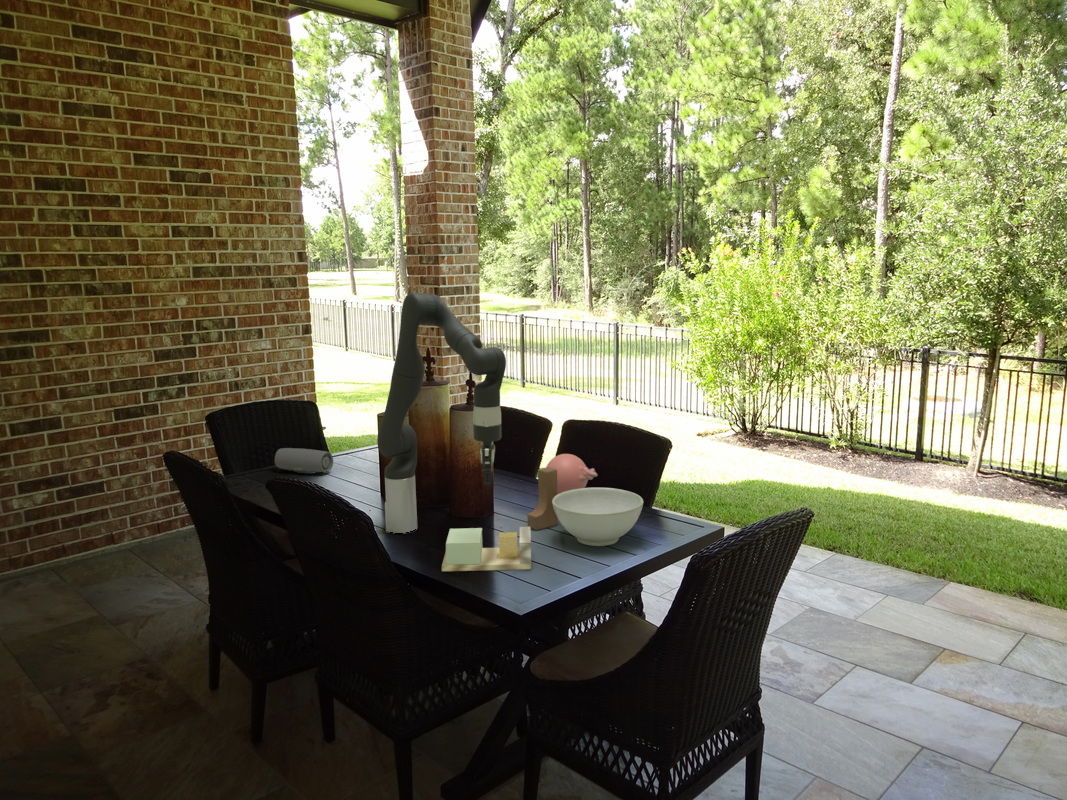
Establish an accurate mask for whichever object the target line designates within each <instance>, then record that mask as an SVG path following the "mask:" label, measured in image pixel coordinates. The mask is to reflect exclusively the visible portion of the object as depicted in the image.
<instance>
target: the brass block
mask: <svg viewBox="0 0 1067 800" xmlns="http://www.w3.org/2000/svg"><path fill="white" fill-rule="evenodd" d="M518 547H519V546H518V531H513V532H509V531H508V532H504V531H503V532H498V548H499V558H518Z"/></svg>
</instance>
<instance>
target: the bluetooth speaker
mask: <svg viewBox="0 0 1067 800" xmlns="http://www.w3.org/2000/svg"><path fill="white" fill-rule="evenodd" d="M274 465H275V466H276V467H277V468H278V469H282V470H285V471H286V470H287V471H292V470H293V471H306V472H318V473H319V472H323V473H327V472H326V471H328V472H330V471H331V470H332V468H333V465H334V458H333V455H332V453H331V452H330V451H326V450H317V449H311V448H293V447H285V448H284V447H282V448H279V449H278V450H277V451H276V452H275V456H274ZM329 470H330V471H329ZM293 471H292V472H293Z"/></svg>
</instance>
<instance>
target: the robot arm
mask: <svg viewBox="0 0 1067 800" xmlns="http://www.w3.org/2000/svg"><path fill="white" fill-rule="evenodd" d="M400 312H401V314H400V324H399V325H400V326H399V334H398V335H399V336H398V343H397V350H396V354H395V360H394V364H393V368H392V375H391V380H390V386H389V387H390V388H389V390H388V391H389V392H388V396H387V401H386V407H385V409H384V413H383V416H382V419H381V424H380V426H379V430H378V434H377V439H376V440H377V441H376V443H377V449H378V451H379V453H380V454H381V455H382V456H383V457H386V458H392V459H391V461H390V462H389V463H388V464H387V465H386V466H385V467H384V485H385V486H384V489H385V502H384V514H385V516H384V517H385V518H384V519H385V532H386V533H390V532H393V533H392V534H395V533H403V534H407V533H406V532H409V533H411V532H410V531H413V530H415V529H416V530H417V529H418V516H417V513H418V512H417V495H416V494H417V491H416V472H415V471H416V468H417V465H418V439H417V434H416V431H415V430H414V428H413V427H412V425H410V424H408V423H406V422H405V419H406V416H407V414H408V413H409V411H410V409H411V407H412V406H413V405H414V403H415V402H416V400H417V398H418V397H419V395H420V394H421V391H422V387H423V383H424V379H425V378H424V377H425V374H426V373H425V372H426V371H425V370H426V368H425V363H424V360H423V358H422V355H421V354H422V353H421V352H420V350H419V346H418V341H417V340H418V338H417V337H418V331H419V328H420V326H433V325H434V326H435V327H438V328H439V329H440V330H442V331H443V335H444V336H443V337H444V340H445V342H446V344H447V345H448V346H449V348H450V349H452V350H453V351H454V352H455V353H456V354H457V355H458V356H460V359H461V360H462V362H463V363H464V365H465V367H466V369H467V370H468V372H469V373H471V374H473V375H474V376H485V378H484V380H483V381H481V382H479V383H477V384H475V385H474V387H473V412H472V416H473V417H472V419H473V421H472V423H473V424H472V425H473V430H472V431H473V440H475V441H477V442H482V444H480V447H479V453H480V464H481V465H482V467H481V471H482V475H483V476H482V477H483V479H482V480H483V485H484V486H491V485H492V479H493V477H492V476H493V465H494V464H495V463H494V462H495V454H496V445H495V444H493V443H494V442H497V441H500V440H501V438H502V410H501V389H502V388H501V387H502V384H503V379H504V377H505V372H506V367H507V359H506V355H505V352H504V351H503V350H502V349H501V348H500V347H497V346H495V347H494V346H492V347H484V348H483V343H482V340H481V339H480V338H479V337H478V336H477V335H476V334H475V333H473V332H472V331H471V330H470V329H469V328H467V327H466V326H464V324H463V323H462V322H461V321H460V320H459V319H458V318H457V316H456V315H455V314H454V312H452V310H451V309H450V308H449V306H448V305H447V304H446V302H445V301H444V300H443V299H442V298H441V297H440V296H439V295H437V294H434V293H429V292H428V293H427V292H410V293H408V294H407V295H406V296H405V297H404V299H403V303H402V306H401V311H400ZM404 422H405V423H404ZM416 530H415V531H416ZM387 531H388V532H387ZM413 532H414V531H413Z"/></svg>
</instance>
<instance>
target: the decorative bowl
mask: <svg viewBox="0 0 1067 800" xmlns="http://www.w3.org/2000/svg"><path fill="white" fill-rule="evenodd" d="M552 504H553V508H554V511H555V513H556V516H557V518H558V522H559V523H560V524H561V525H562V527H564V529H565V530H566V531H567V532H568V533H570V534H571V535H572V536H573V537H575V538H576V540H577V541H578V542H579V543H580V544H582V545H587V546H592V547H593V546H594V547H605V546H611V545H614V544H616V543H617V542H618V541H619V538H621V537H623V536H624V535H626V534H627V533H628V532H629V531H630V530H631V529H632V528H633V527H634V525H635V524H636V522H637V521H638V519H639V517H640V516H641V512H642V509H643V506H644V499H643V498H642V496H640V495H639V494H637V493H635V492H632V491H629V490H624V489H621V488H620V489H619V488H613V487H585V488H580V489H574V490H569V491H565V492H562V493H560V494H558V495H556V496H555V497H554V498H553V500H552Z"/></svg>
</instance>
